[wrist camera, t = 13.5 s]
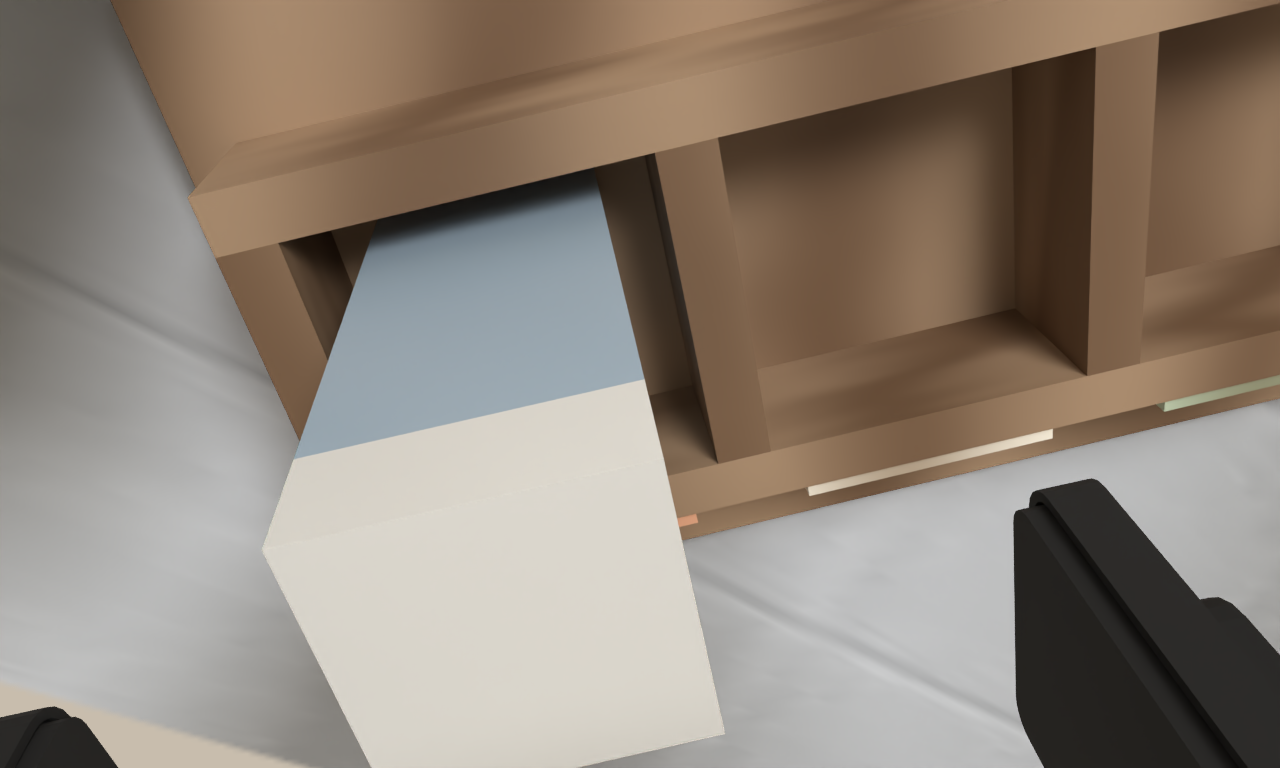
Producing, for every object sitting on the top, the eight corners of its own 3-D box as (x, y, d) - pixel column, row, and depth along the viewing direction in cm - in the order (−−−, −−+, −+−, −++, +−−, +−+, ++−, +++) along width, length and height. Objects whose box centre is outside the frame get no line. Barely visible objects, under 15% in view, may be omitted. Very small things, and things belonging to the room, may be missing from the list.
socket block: (1500, -363, 17) (1760, -414, 13) (1364, 350, 24) (1512, 439, 20) (121, -30, 17) (18, 6, 13) (392, 582, 24) (371, 710, 20)
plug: (591, 160, 18) (663, 459, 10) (634, 347, 20) (725, 733, 12) (381, 209, 18) (261, 549, 10) (444, 390, 20) (392, 809, 12)
